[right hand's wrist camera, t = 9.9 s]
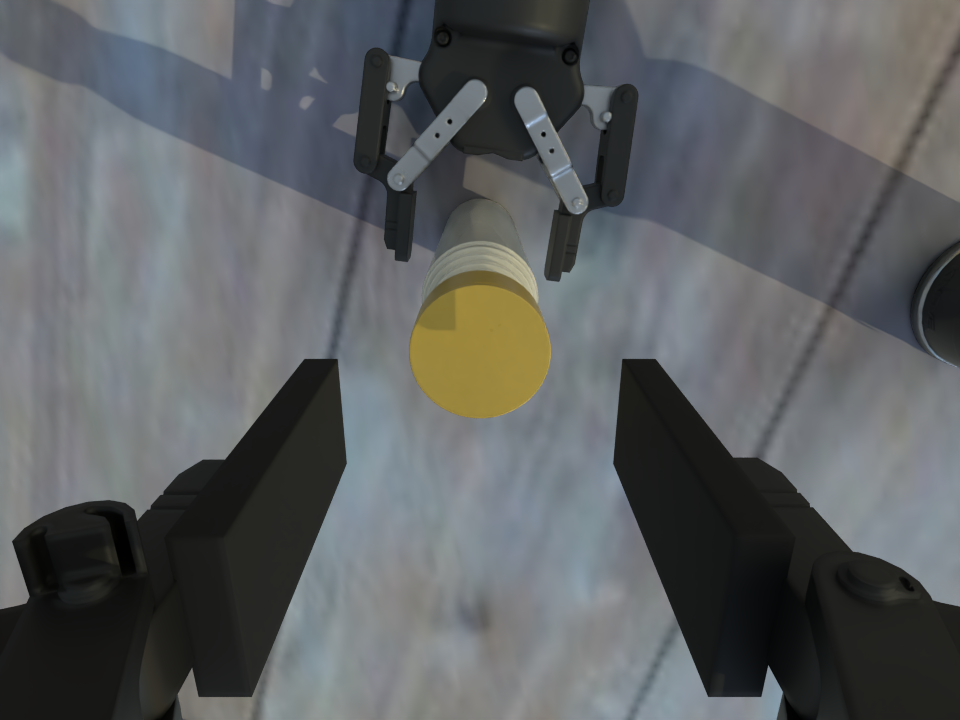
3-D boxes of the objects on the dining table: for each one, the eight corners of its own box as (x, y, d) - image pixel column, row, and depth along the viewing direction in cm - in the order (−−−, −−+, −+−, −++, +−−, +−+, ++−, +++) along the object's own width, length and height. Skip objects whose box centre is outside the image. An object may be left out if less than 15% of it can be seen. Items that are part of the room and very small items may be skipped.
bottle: (476, 283, 41) (472, 445, 19) (430, 230, 40) (371, 342, 18) (529, 238, 40) (587, 357, 18) (483, 183, 39) (488, 241, 17)
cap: (473, 415, 21) (473, 443, 19) (389, 326, 20) (379, 347, 18) (570, 339, 20) (579, 361, 18) (487, 242, 19) (487, 254, 17)
